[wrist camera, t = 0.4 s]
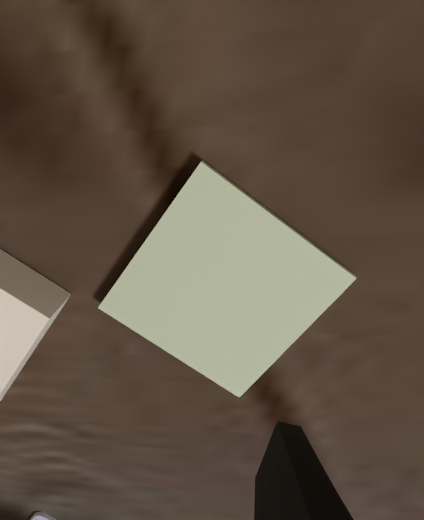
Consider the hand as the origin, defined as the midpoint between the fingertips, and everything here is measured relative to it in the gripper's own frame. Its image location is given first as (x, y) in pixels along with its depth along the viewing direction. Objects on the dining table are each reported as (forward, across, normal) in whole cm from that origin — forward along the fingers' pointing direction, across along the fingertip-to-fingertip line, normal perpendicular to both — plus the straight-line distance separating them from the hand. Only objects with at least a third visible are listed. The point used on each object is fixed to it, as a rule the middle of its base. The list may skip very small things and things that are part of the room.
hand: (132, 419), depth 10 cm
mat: (+10, -2, +1) cm, 10 cm away
